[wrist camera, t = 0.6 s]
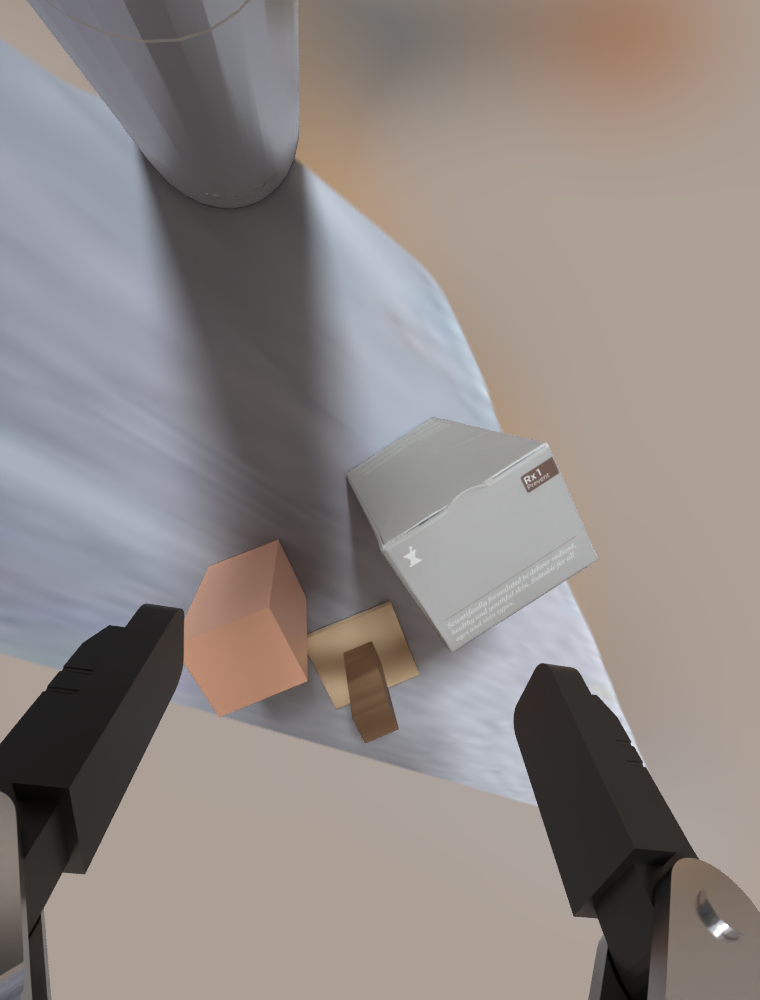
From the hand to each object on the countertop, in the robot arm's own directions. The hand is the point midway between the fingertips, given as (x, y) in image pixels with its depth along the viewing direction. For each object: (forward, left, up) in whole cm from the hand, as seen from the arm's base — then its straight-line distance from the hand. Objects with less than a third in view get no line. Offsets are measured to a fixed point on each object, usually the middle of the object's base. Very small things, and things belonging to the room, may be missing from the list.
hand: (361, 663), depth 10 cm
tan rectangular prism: (+8, -8, -23) cm, 26 cm away
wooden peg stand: (+18, -3, -23) cm, 29 cm away
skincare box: (+4, +6, -23) cm, 24 cm away
